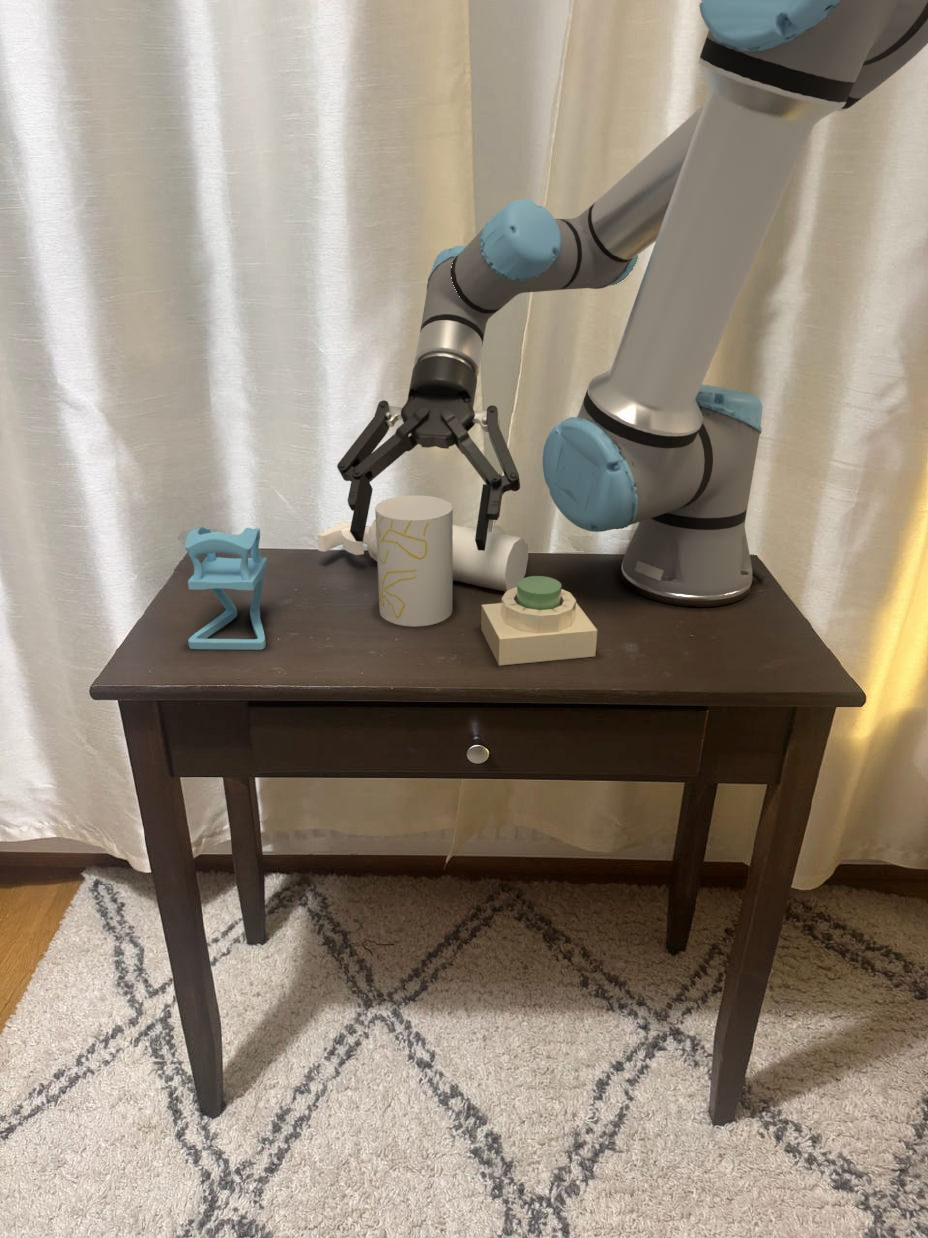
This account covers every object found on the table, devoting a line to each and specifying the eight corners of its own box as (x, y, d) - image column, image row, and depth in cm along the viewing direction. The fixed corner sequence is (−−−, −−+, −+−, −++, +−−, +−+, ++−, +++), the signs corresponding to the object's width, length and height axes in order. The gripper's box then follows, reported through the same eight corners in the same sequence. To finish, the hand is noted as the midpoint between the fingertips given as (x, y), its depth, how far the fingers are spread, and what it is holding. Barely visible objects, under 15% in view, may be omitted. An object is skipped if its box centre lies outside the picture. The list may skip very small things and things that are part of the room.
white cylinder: (364, 610, 95) (359, 507, 89) (416, 588, 100) (414, 490, 95) (415, 633, 90) (413, 526, 84) (467, 609, 95) (468, 506, 90)
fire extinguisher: (541, 520, 103) (365, 495, 113) (501, 548, 93) (312, 519, 103) (539, 572, 106) (367, 544, 116) (500, 605, 96) (315, 571, 106)
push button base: (570, 622, 93) (573, 579, 90) (595, 656, 86) (599, 611, 83) (480, 629, 91) (481, 586, 88) (498, 666, 84) (500, 620, 81)
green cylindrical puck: (553, 592, 88) (554, 574, 88) (566, 610, 85) (567, 591, 84) (511, 595, 88) (512, 577, 87) (523, 614, 84) (524, 595, 83)
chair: (280, 614, 94) (270, 510, 88) (264, 650, 86) (252, 539, 81) (210, 613, 94) (196, 509, 88) (188, 649, 86) (171, 538, 81)
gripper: (555, 396, 99) (535, 563, 93) (349, 387, 103) (316, 546, 97) (552, 356, 92) (531, 533, 86) (332, 348, 96) (295, 517, 90)
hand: (417, 541), depth 91 cm, fingers open, 13 cm apart
